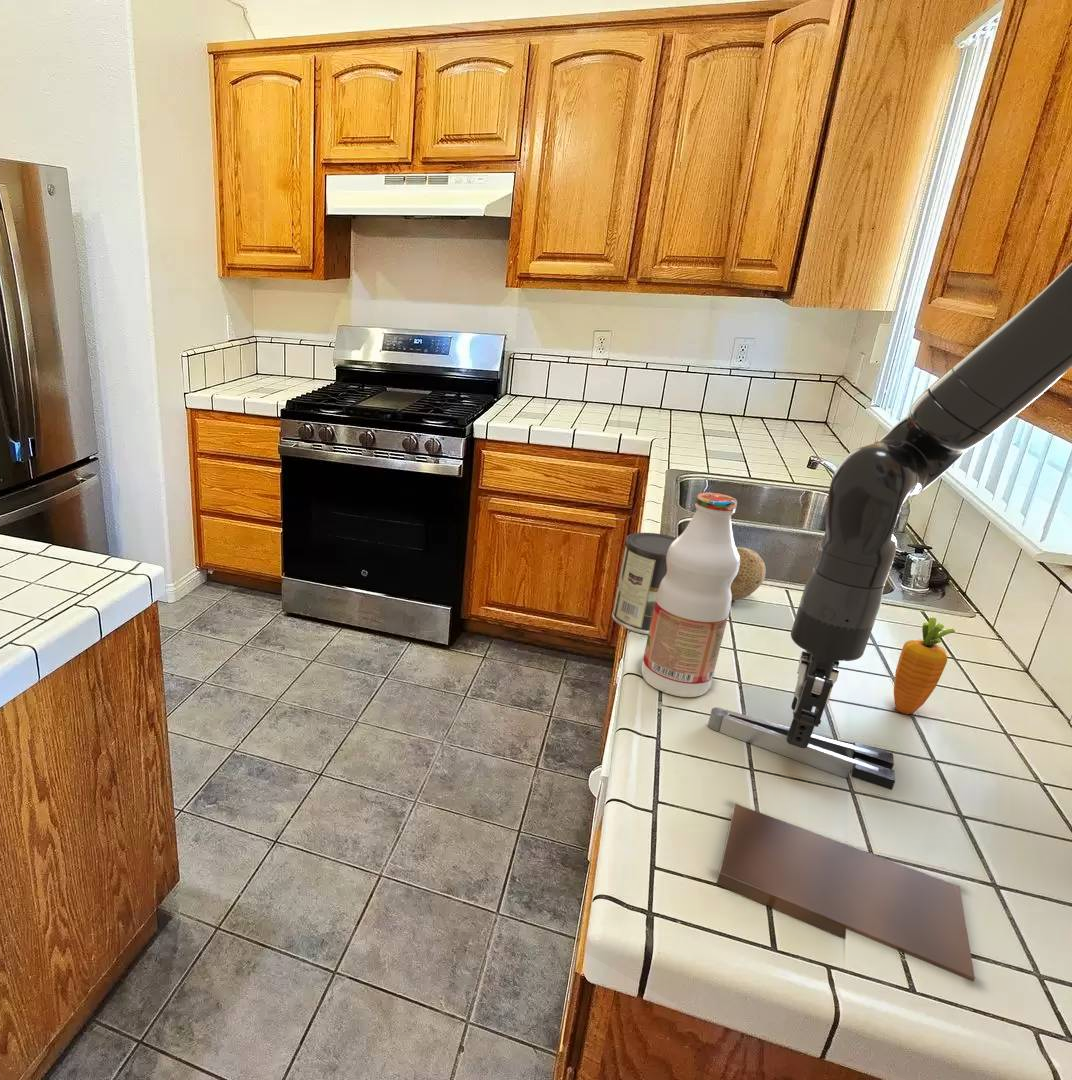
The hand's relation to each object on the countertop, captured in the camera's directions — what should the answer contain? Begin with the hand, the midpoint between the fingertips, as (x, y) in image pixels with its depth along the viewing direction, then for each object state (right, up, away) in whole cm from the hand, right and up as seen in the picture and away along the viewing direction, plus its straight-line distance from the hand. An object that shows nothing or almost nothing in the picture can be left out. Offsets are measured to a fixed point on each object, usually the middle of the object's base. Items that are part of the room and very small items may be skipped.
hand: (798, 727), depth 93 cm
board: (-8, -11, -20) cm, 24 cm away
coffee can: (-6, +9, +33) cm, 35 cm away
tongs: (0, -3, +1) cm, 4 cm away
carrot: (+20, -1, +10) cm, 22 cm away
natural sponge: (+13, +12, +43) cm, 47 cm away
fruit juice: (-9, +3, +16) cm, 18 cm away
